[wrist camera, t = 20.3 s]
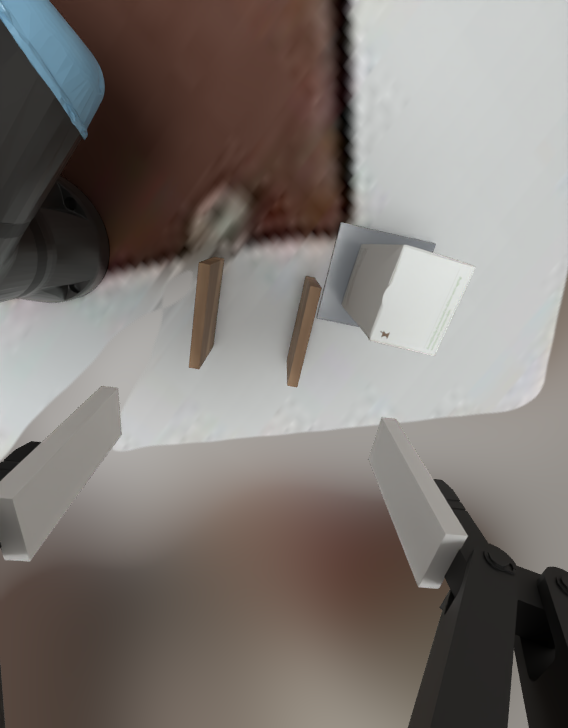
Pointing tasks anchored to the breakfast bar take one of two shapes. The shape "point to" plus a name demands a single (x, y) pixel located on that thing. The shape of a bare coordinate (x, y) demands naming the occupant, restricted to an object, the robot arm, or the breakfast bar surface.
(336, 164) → the breakfast bar surface
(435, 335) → the skincare box
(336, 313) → the slate coaster
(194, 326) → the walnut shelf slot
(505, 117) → the breakfast bar surface
